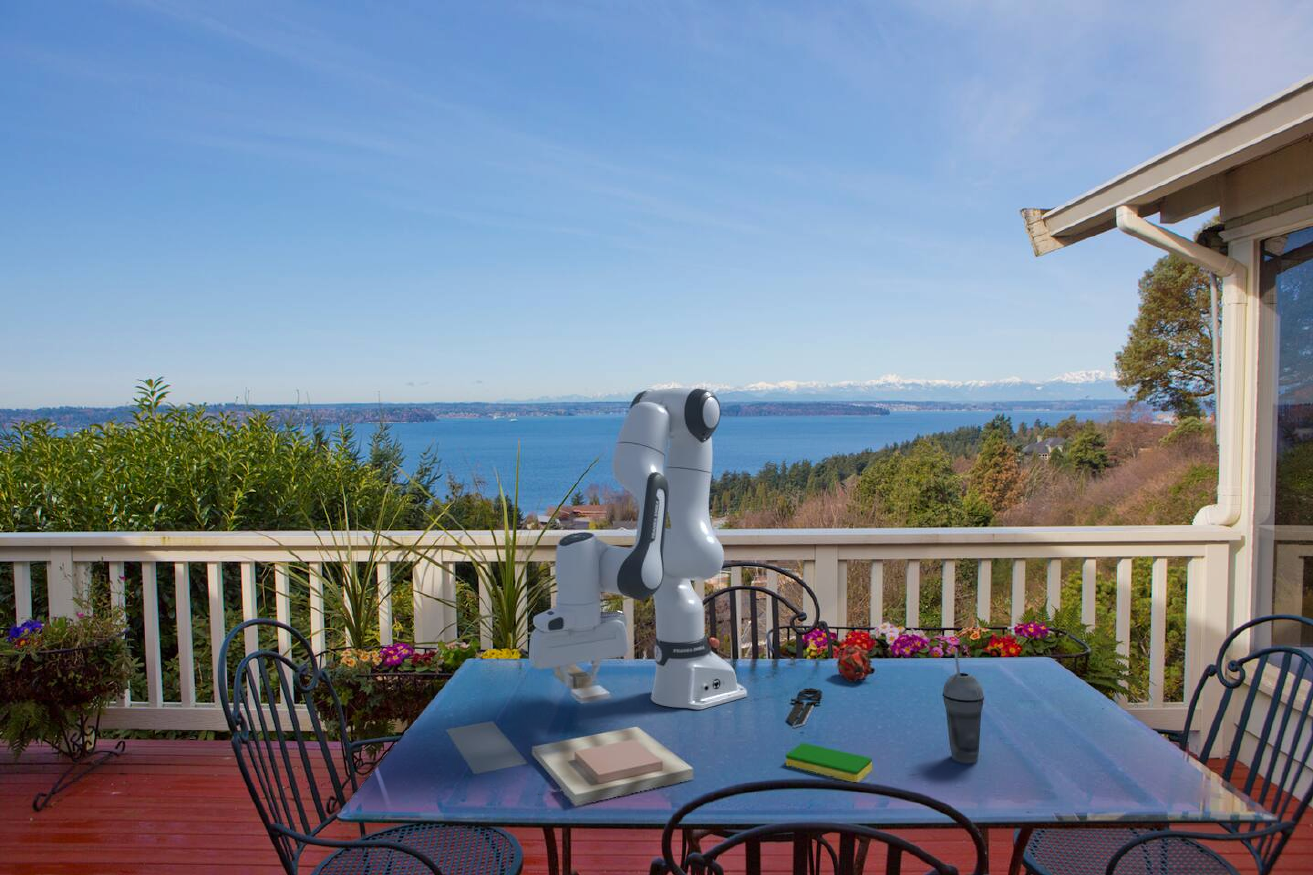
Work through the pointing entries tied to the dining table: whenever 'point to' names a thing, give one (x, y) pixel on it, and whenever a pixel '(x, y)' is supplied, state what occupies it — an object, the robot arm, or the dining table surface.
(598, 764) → the tile
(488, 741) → the mat
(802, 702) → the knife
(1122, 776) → the dining table surface
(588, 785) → the board
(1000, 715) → the dining table surface
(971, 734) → the beverage cup
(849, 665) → the dragon fruit
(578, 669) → the turner
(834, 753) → the dish sponge
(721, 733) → the dining table surface
